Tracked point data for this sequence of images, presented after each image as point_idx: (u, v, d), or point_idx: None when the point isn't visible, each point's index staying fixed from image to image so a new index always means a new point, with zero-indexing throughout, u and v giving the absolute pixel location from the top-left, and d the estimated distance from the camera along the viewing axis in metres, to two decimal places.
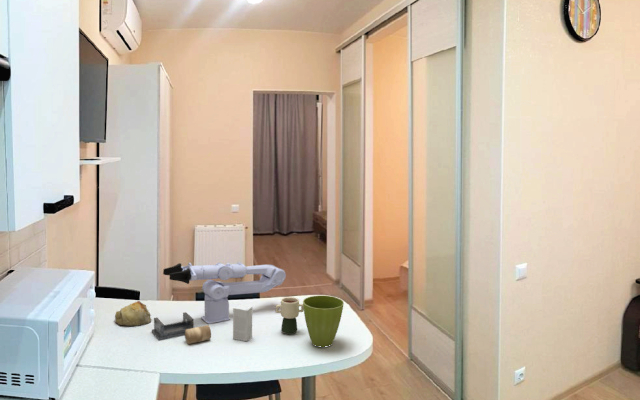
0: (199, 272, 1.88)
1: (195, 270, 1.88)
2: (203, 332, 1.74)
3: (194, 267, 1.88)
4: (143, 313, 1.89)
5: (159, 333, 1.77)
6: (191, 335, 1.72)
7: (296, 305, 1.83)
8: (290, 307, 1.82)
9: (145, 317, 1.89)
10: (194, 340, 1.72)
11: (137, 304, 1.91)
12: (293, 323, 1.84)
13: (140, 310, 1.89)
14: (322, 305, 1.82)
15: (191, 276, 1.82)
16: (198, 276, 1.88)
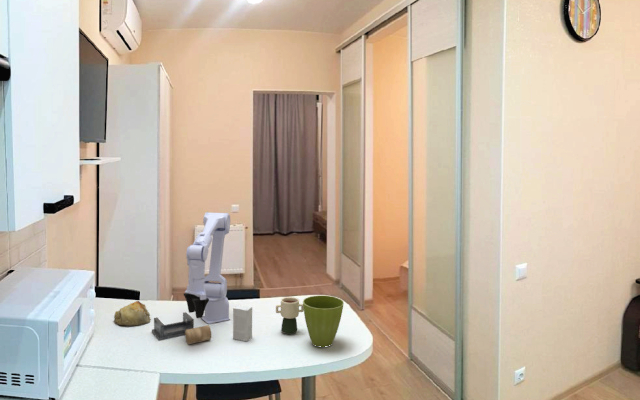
0: (197, 283, 1.71)
1: (194, 288, 1.71)
2: (203, 333, 1.74)
3: (190, 288, 1.72)
4: (142, 313, 1.89)
5: (159, 333, 1.77)
6: (191, 335, 1.72)
7: (296, 305, 1.83)
8: (290, 307, 1.82)
9: (144, 317, 1.89)
10: (194, 341, 1.72)
11: (136, 304, 1.91)
12: (293, 323, 1.84)
13: (140, 309, 1.89)
14: (322, 305, 1.82)
15: None
16: (201, 284, 1.72)
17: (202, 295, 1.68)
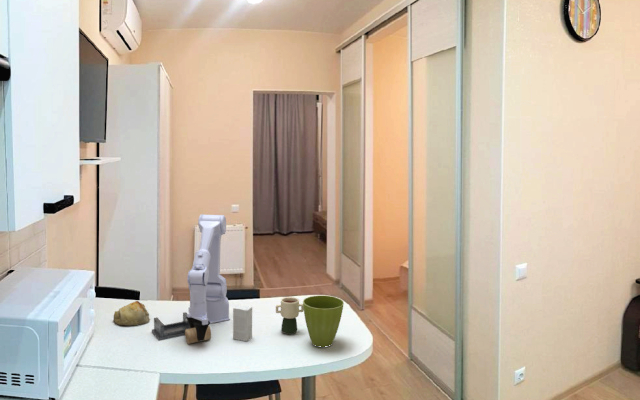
0: (198, 307, 1.72)
1: (196, 312, 1.72)
2: None
3: (192, 312, 1.72)
4: (142, 313, 1.89)
5: (159, 333, 1.77)
6: (191, 334, 1.72)
7: (296, 305, 1.83)
8: (290, 307, 1.82)
9: (144, 317, 1.89)
10: (194, 340, 1.72)
11: (136, 304, 1.91)
12: (293, 323, 1.84)
13: (139, 309, 1.89)
14: (322, 305, 1.82)
15: None
16: (202, 308, 1.73)
17: (204, 320, 1.69)
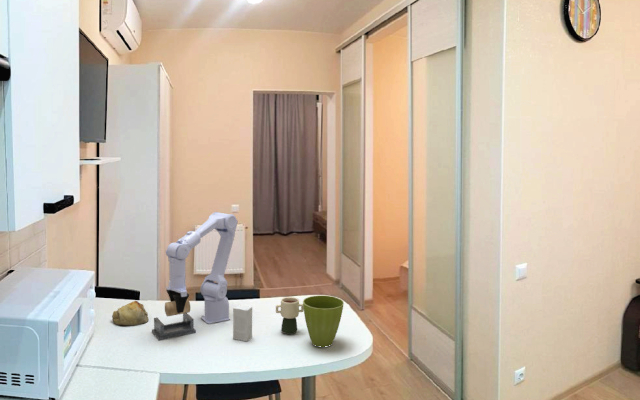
0: (178, 280, 1.76)
1: (175, 285, 1.76)
2: None
3: (172, 285, 1.77)
4: (141, 313, 1.89)
5: (159, 333, 1.77)
6: (170, 306, 1.76)
7: (296, 305, 1.83)
8: (290, 307, 1.82)
9: (143, 316, 1.90)
10: (173, 312, 1.77)
11: (134, 304, 1.91)
12: (293, 323, 1.84)
13: (138, 309, 1.89)
14: (322, 305, 1.82)
15: None
16: (182, 281, 1.77)
17: (183, 292, 1.73)
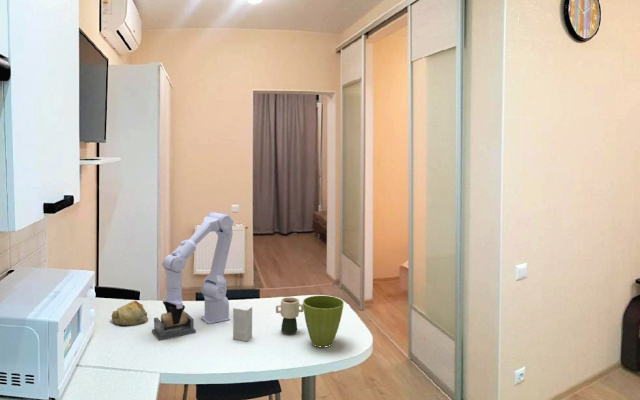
0: (174, 292, 1.78)
1: (171, 297, 1.78)
2: None
3: (168, 296, 1.78)
4: (140, 312, 1.89)
5: (159, 333, 1.77)
6: (166, 318, 1.78)
7: (296, 305, 1.83)
8: (290, 307, 1.82)
9: (142, 316, 1.90)
10: (169, 323, 1.79)
11: (134, 304, 1.92)
12: (293, 323, 1.84)
13: (137, 309, 1.89)
14: (322, 305, 1.82)
15: None
16: (178, 293, 1.79)
17: (179, 304, 1.75)
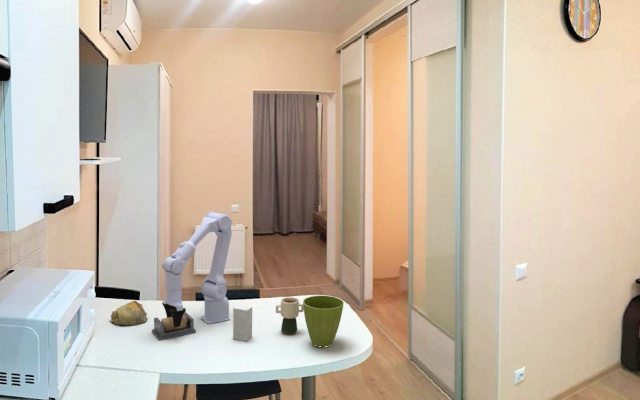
0: (174, 294, 1.78)
1: (171, 299, 1.78)
2: None
3: (168, 299, 1.79)
4: (140, 312, 1.89)
5: (159, 333, 1.77)
6: (166, 323, 1.78)
7: (296, 305, 1.83)
8: (290, 307, 1.82)
9: (142, 316, 1.90)
10: (169, 329, 1.79)
11: (133, 304, 1.92)
12: (293, 323, 1.84)
13: (137, 309, 1.89)
14: (322, 305, 1.82)
15: None
16: (178, 295, 1.79)
17: (179, 306, 1.75)
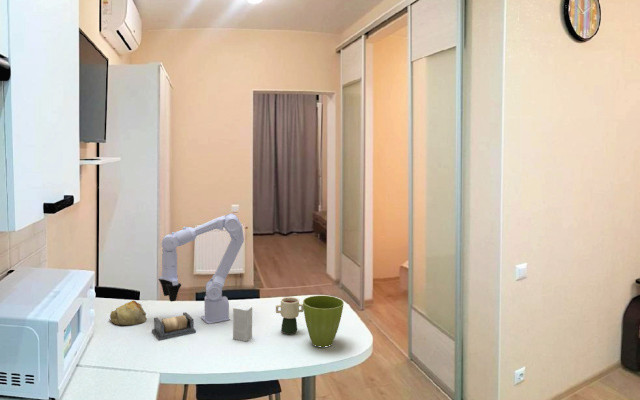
0: (169, 270, 1.87)
1: (167, 274, 1.88)
2: (179, 324, 1.80)
3: (164, 274, 1.88)
4: (139, 312, 1.89)
5: (159, 333, 1.77)
6: (167, 326, 1.78)
7: (296, 305, 1.83)
8: (290, 307, 1.82)
9: (141, 316, 1.90)
10: (170, 330, 1.79)
11: (132, 303, 1.92)
12: (293, 323, 1.84)
13: (136, 309, 1.90)
14: (322, 305, 1.82)
15: (174, 285, 1.85)
16: (173, 271, 1.88)
17: (174, 281, 1.84)
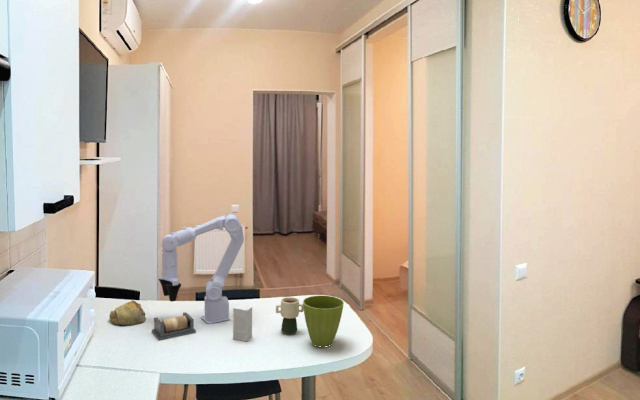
0: (169, 270, 1.87)
1: (167, 274, 1.88)
2: (180, 325, 1.80)
3: (164, 274, 1.88)
4: (138, 312, 1.90)
5: (159, 333, 1.77)
6: (168, 327, 1.77)
7: (296, 305, 1.83)
8: (290, 307, 1.82)
9: (140, 316, 1.90)
10: (170, 331, 1.79)
11: (132, 303, 1.92)
12: (293, 323, 1.84)
13: (135, 309, 1.90)
14: (322, 305, 1.82)
15: (174, 285, 1.85)
16: (173, 271, 1.88)
17: (174, 281, 1.84)
